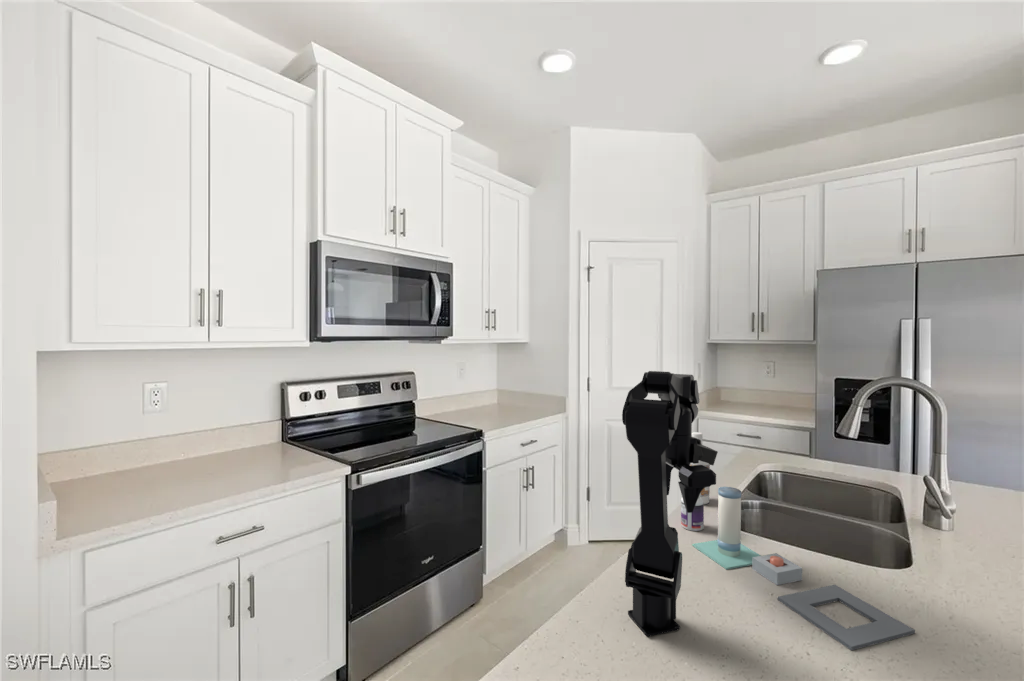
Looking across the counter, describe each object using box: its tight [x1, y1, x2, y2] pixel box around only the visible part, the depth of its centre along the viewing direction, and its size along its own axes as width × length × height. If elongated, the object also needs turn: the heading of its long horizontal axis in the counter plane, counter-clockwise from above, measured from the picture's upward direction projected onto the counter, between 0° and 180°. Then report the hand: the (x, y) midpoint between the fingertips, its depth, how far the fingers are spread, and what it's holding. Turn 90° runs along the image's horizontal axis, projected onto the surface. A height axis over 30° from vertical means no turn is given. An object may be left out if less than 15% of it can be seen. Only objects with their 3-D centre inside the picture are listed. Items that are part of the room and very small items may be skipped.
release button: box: [770, 556, 784, 567], centre depth 95 cm, size 2×2×2 cm
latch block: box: [751, 552, 803, 586], centre depth 95 cm, size 6×6×2 cm
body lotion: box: [690, 431, 711, 505], centre depth 134 cm, size 7×7×20 cm
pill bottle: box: [680, 493, 705, 532], centre depth 117 cm, size 5×5×10 cm
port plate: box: [777, 584, 916, 651], centre depth 81 cm, size 14×14×1 cm
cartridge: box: [717, 486, 742, 557], centre depth 103 cm, size 5×5×14 cm
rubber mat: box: [691, 539, 762, 571], centre depth 103 cm, size 11×11×1 cm
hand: (677, 503), depth 99 cm, fingers open, 9 cm apart
